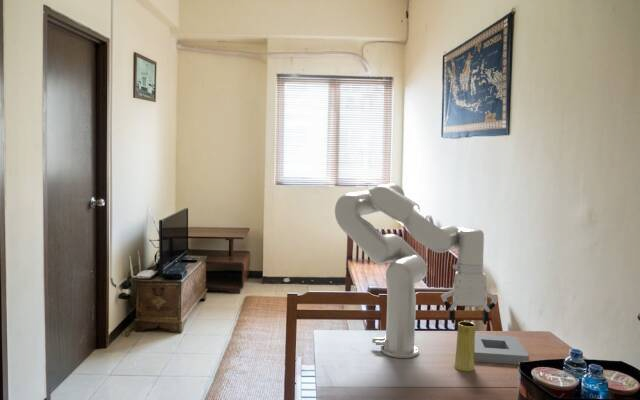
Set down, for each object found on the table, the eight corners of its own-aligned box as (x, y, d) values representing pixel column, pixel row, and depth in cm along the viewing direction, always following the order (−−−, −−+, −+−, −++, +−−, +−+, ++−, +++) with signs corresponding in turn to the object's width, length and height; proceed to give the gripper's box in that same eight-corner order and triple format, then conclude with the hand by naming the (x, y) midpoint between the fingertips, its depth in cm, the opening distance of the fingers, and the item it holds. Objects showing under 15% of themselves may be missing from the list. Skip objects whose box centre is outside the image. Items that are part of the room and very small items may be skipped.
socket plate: (471, 361, 179) (471, 352, 179) (463, 341, 197) (464, 333, 197) (528, 365, 177) (529, 356, 177) (515, 344, 195) (516, 336, 195)
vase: (474, 372, 170) (477, 327, 169) (454, 370, 171) (456, 326, 170) (473, 365, 176) (476, 321, 174) (453, 363, 177) (456, 320, 176)
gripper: (442, 270, 168) (441, 325, 169) (501, 272, 165) (499, 327, 167) (440, 265, 175) (439, 318, 176) (496, 267, 173) (494, 320, 174)
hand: (468, 322), depth 172 cm, fingers open, 9 cm apart
